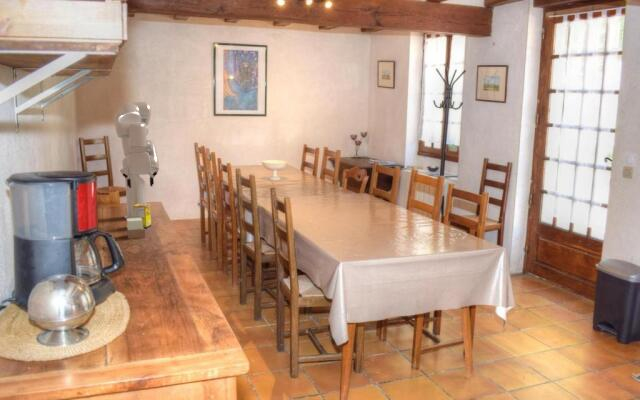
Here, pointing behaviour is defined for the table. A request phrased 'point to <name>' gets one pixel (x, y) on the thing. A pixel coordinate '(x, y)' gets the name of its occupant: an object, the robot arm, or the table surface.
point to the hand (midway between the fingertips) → (140, 186)
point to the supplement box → (143, 214)
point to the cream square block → (134, 224)
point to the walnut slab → (136, 233)
